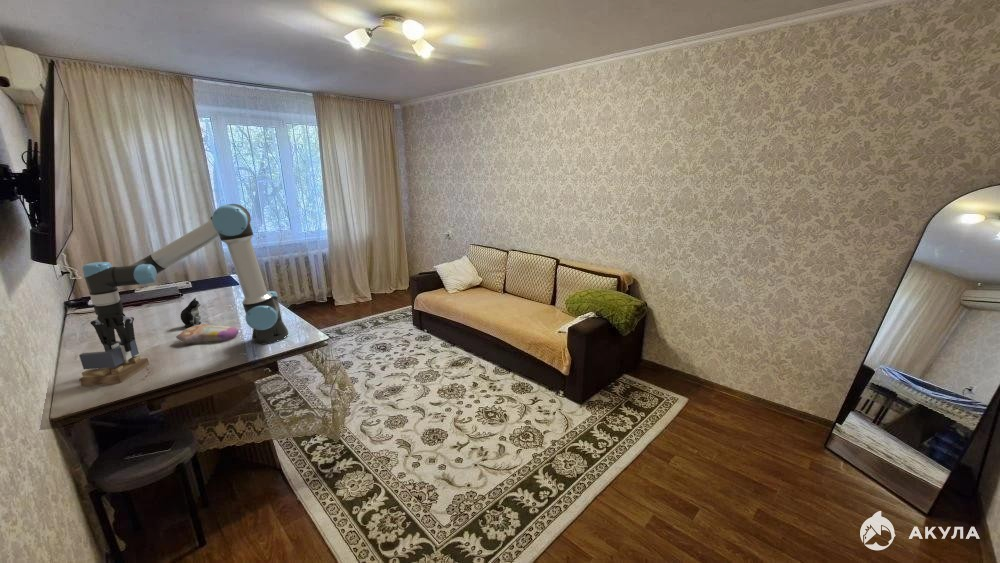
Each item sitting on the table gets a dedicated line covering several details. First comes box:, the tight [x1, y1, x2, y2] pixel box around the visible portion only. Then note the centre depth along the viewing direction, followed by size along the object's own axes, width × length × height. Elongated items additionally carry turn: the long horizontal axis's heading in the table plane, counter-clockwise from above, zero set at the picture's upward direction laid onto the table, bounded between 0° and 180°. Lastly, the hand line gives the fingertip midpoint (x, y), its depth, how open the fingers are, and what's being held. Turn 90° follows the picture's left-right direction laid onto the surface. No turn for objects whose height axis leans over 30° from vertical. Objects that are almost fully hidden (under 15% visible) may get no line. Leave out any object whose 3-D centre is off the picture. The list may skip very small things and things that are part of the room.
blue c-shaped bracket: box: [78, 339, 140, 370], centre depth 148 cm, size 10×12×6 cm
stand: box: [79, 355, 150, 387], centre depth 150 cm, size 13×15×5 cm
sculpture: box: [175, 323, 239, 343], centre depth 185 cm, size 17×7×25 cm
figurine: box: [180, 297, 202, 329], centre depth 198 cm, size 10×10×15 cm
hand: (123, 359), depth 150 cm, fingers closed on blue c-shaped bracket, 2 cm apart
